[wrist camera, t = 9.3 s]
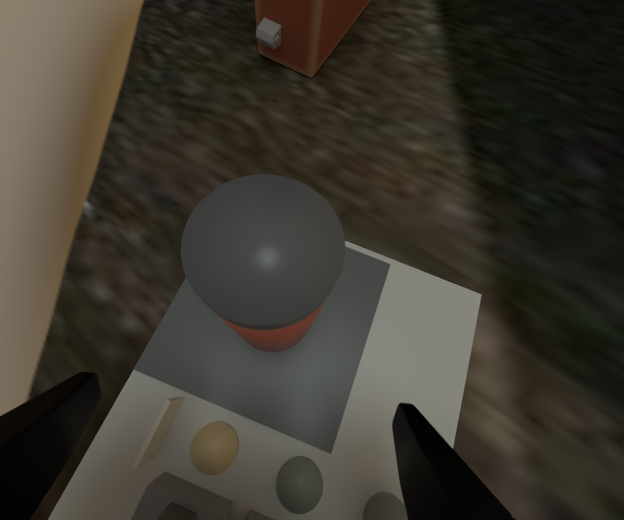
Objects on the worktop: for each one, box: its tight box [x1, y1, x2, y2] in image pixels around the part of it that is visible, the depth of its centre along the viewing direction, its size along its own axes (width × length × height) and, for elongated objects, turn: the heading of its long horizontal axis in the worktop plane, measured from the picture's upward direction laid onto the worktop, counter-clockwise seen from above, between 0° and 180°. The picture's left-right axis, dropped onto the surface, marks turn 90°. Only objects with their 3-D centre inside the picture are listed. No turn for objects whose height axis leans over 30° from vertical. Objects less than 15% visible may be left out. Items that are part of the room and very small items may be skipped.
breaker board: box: [48, 241, 481, 520], centre depth 15 cm, size 20×17×5 cm
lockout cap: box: [181, 174, 345, 352], centre depth 13 cm, size 4×4×10 cm
